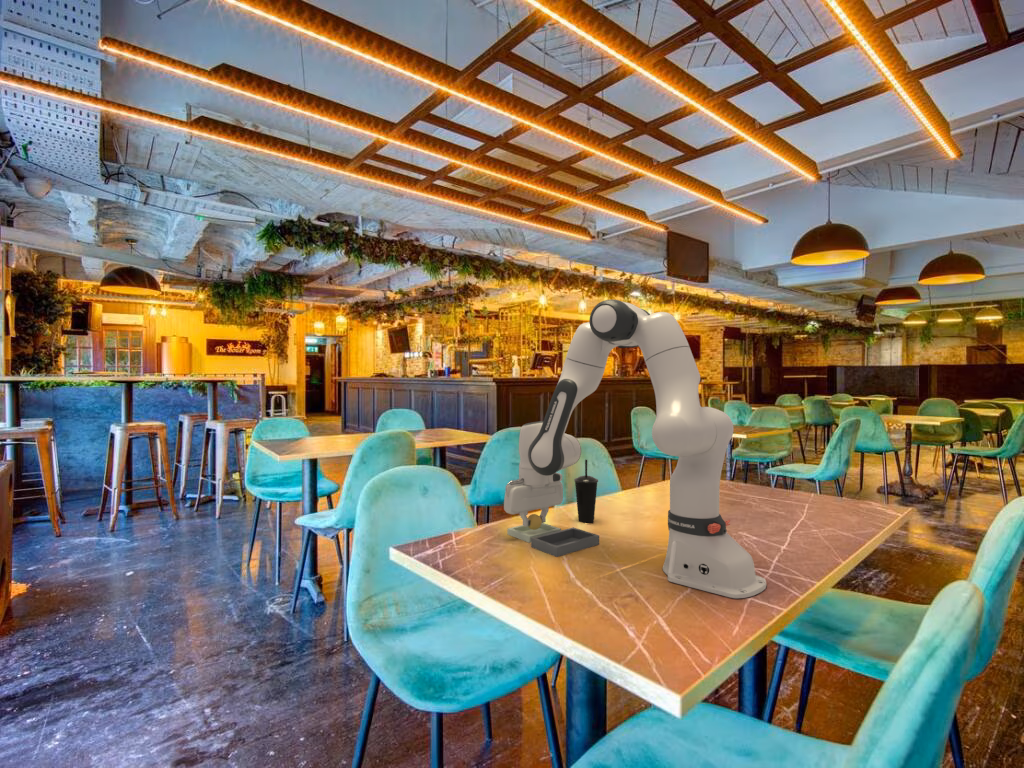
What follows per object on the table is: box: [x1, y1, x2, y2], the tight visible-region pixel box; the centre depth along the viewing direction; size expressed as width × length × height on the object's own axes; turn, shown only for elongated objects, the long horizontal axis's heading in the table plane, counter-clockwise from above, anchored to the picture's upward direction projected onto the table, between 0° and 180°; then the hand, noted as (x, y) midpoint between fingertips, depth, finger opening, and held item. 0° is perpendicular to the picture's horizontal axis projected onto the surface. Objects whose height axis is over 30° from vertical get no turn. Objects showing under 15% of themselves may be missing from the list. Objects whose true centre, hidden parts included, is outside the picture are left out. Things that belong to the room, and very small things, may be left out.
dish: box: [530, 526, 600, 558], centre depth 139 cm, size 10×16×3 cm, turn 129°
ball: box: [527, 513, 542, 530], centre depth 150 cm, size 4×4×4 cm
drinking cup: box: [573, 459, 599, 524], centre depth 165 cm, size 8×8×20 cm
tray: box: [506, 522, 562, 544], centre depth 150 cm, size 10×12×2 cm
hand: (534, 524), depth 150 cm, fingers open, 4 cm apart
